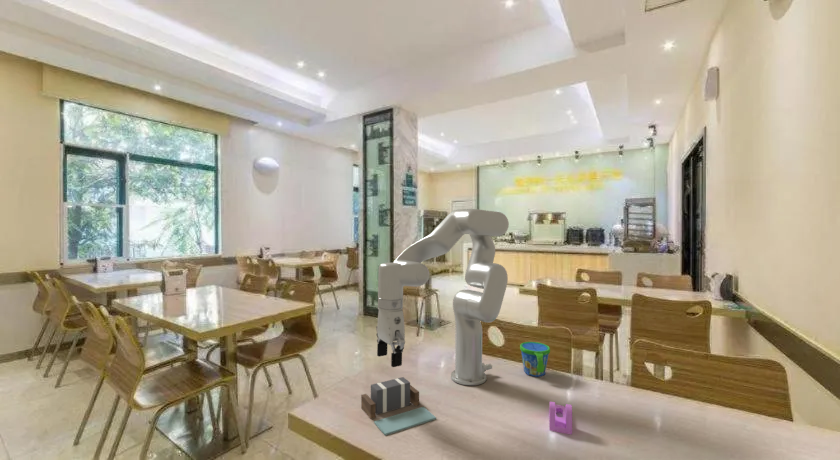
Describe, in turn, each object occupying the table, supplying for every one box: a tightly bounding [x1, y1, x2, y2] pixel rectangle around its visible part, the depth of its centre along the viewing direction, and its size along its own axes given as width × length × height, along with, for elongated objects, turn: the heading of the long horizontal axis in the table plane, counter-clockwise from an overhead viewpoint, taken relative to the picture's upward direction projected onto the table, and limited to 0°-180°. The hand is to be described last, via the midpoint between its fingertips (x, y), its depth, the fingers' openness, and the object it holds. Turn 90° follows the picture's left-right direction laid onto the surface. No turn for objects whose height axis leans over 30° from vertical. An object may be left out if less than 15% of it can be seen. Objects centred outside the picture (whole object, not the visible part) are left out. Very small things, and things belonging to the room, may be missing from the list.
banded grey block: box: [370, 376, 411, 415], centre depth 111 cm, size 11×4×7 cm, turn 121°
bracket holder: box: [360, 384, 420, 420], centre depth 111 cm, size 16×7×4 cm, turn 121°
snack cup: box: [519, 341, 551, 378], centre depth 136 cm, size 16×10×10 cm
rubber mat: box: [373, 406, 437, 436], centre depth 103 cm, size 16×7×1 cm, turn 121°
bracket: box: [548, 401, 573, 435], centre depth 104 cm, size 13×6×7 cm, turn 161°
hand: (389, 360), depth 110 cm, fingers open, 9 cm apart
